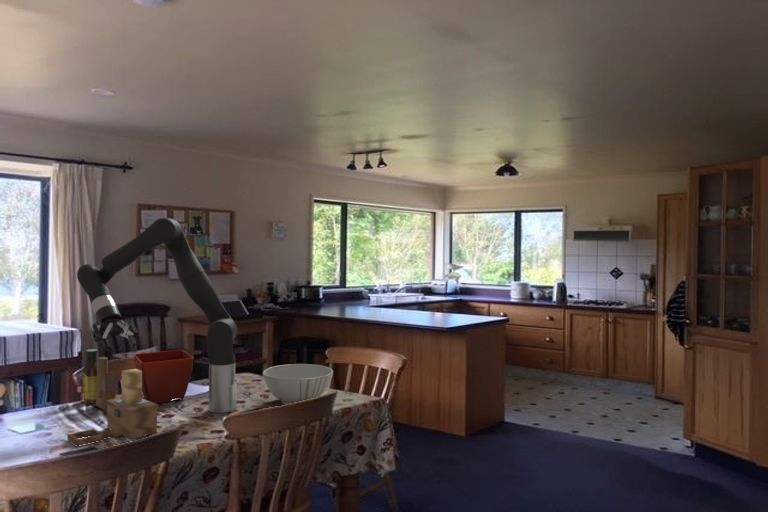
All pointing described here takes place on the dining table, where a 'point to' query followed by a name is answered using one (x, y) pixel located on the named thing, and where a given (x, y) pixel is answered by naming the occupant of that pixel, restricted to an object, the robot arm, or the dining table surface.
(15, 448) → the dining table surface
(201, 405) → the dining table surface
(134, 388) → the tan cylinder
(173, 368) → the plant pot
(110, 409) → the brown box with frame
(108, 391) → the wooden block
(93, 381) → the sauce bottle
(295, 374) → the decorative bowl
